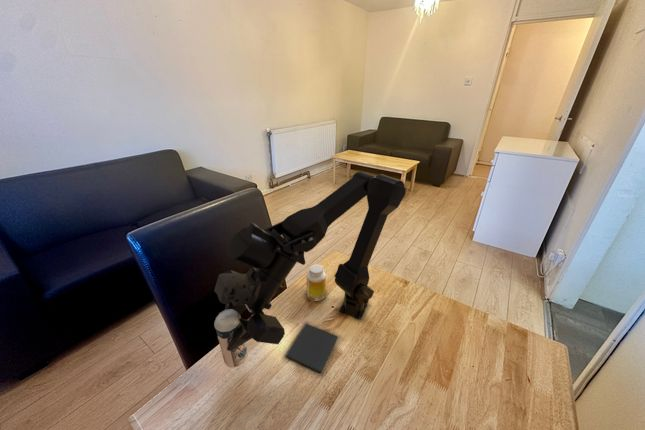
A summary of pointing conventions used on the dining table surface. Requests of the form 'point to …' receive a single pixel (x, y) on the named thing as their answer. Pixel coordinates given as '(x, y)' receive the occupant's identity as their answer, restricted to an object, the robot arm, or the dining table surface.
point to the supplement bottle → (316, 282)
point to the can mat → (312, 347)
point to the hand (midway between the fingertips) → (224, 340)
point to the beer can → (230, 337)
